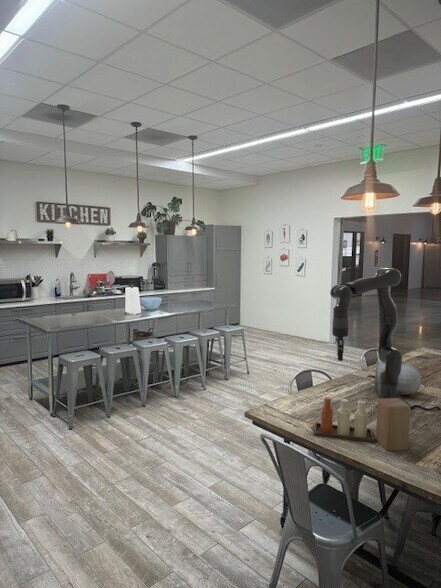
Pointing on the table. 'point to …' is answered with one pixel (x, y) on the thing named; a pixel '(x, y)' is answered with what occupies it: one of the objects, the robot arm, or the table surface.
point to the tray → (350, 437)
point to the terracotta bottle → (326, 416)
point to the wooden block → (393, 424)
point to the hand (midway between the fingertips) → (339, 358)
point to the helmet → (400, 378)
